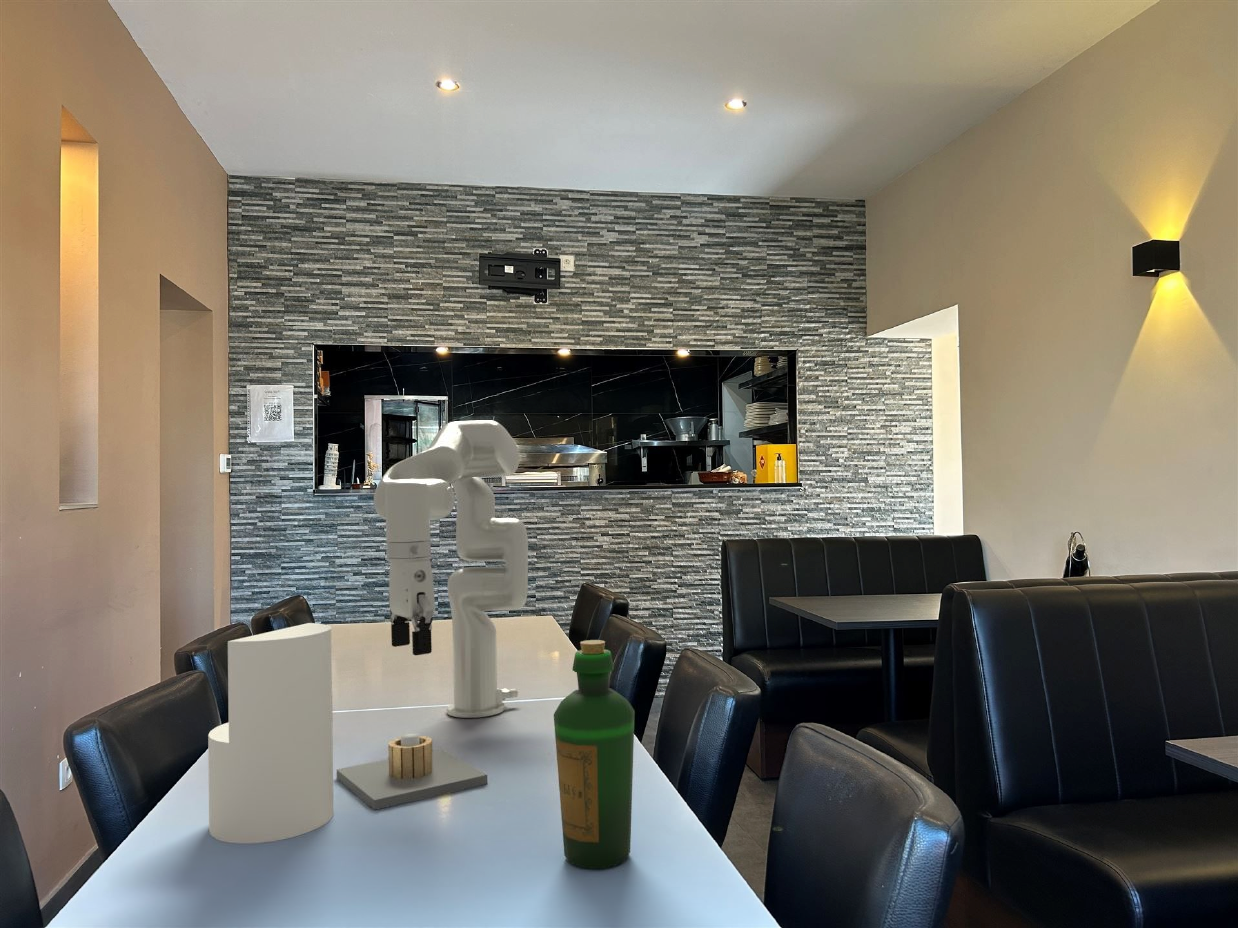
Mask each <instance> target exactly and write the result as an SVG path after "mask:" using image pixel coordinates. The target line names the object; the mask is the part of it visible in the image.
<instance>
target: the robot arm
mask: <svg viewBox="0 0 1238 928" xmlns="http://www.w3.org/2000/svg"><path fill="white" fill-rule="evenodd" d="M519 464H520V451H519V448H518V446H517V442H516V441H515V440H514V438H513V437H512V436H511V434H510V433H509V432H508V430H507V429H506V428H505V427H504V426H503V425H502V424H500V423H499V422H497V421H496V420H490V419H489V420H459V421H452V422H451V421H450V422H448V423H446V424H444V425H443V426H442V427H441V428H440V430H438V431H437V433H436V435H435V437H434V438H433V439H432V441H431V443H430V444H429V445H428V447H427V449H426V450H424V451H420V452H418V453H416V454H414V455H412V456H409V457H408V458H405V459H403V460H401V461H399V462H397V463H395V464H393V465H392V466H391V467H389V469H387V470H386V472H385V473H384V475H382V478H381V479H380V480H379V481H378V484H377V486H376V488H375V491H374V495H373V505H374V510H375V512H376V513H377V515H378V516H379V517H380V518H382V519H383V520H385V534H386V535H385V536H386V537H385V538H386V541H385V542H386V561H387V562H389V563H390V564H389V577H388V579H389V581H388V601H389V613H390V615H391V616H390V623H391V624H390V626H391V627H390V628H391V629H390V630H391V631H390V632H391V633H390V634H391V646H392V647H394V648H396V647H403V646H409V645H410V644H411V641H412V646H411V647H412V655H414V656H420V655H428V654H431V653H432V650H433V649H432V645H433V644H432V630H433V625H432V623H433V620H434V618H433V616H435V614H436V602H435V601H436V599H435V587H434V586H435V585H434V577H433V576H434V575H433V570H432V565H431V559H432V542H431V521H432V520H433V521H435V520H437V521H438V520H441V519H444V518H446V517H448V516H449V515H450V513H452V511H453V509H454V507H455V504H456V527H455V528H456V530H455V531H456V532H455V533H456V534H455V545H456V547H455V548H456V553H457V555H458V557H459V558H461V559H462V560H464V561H469V562H504V563H505V564H506V566H495V567H494V566H493V567H491V566H473V567H471V566H470V567H463V568H459V569H457V570H455V571H454V572H452V573H451V574H450V576H449V577H448V579H447V594H448V600H449V606H450V611H451V623H452V663H453V666H452V667H453V668H452V669H453V703H451V704H450V705H449V704H448V706H447V707H446V713H447V714H448V716H451V717H455V718H462V719H474V718H485V717H491V716H496V715H498V714H500V713H503V712H504V711H505V710H506V705H505V703H504V701H505V700H506V699H513V698H514V699H515V698H518V695H519V692H518V690H517V688H512V689H511V688H510V689H507V688H503V689H502V688H500V687H498V657H497V656H498V655H497V654H498V652H497V650H498V649H497V648H498V647H497V630H496V626H495V624H494V622H493V620H492V619H491V618H490V616H488V614H487V612H489V611H516V610H520V609H522V608H523V607H524V606H525V605H526V602H527V598H528V590H529V589H528V586H529V585H528V583H529V582H528V581H529V580H528V579H529V577H528V575H529V574H528V573H529V567H528V566H529V538H528V532H527V528H526V525H525V524H524V522H523V521H522V520H520V519H518V518H515V517H499V518H498V517H497V518H496V504H495V503H496V498H495V494H494V492H493V490H491V488H490V486H489V485H488V484H487V483H486V482H485V480H483V478H487V477H488V478H491V477H495V478H496V477H502V478H503V477H508V476H512V475H514V473H516V471H517V470H518V467H519ZM455 502H456V503H455ZM408 620H411V624H412V627H413V629H414V631H413V630H412V631H411V635H410V621H408ZM418 620H419V621H418ZM411 637H412V639H410V638H411Z"/></svg>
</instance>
